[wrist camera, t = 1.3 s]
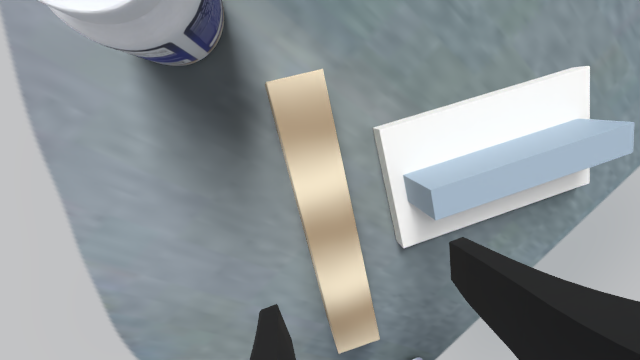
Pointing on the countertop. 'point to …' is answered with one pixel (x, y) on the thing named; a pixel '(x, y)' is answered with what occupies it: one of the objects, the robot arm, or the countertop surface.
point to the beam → (324, 204)
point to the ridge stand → (493, 154)
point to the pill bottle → (147, 26)
